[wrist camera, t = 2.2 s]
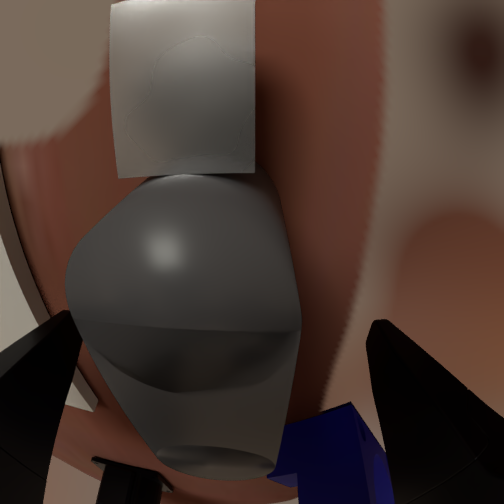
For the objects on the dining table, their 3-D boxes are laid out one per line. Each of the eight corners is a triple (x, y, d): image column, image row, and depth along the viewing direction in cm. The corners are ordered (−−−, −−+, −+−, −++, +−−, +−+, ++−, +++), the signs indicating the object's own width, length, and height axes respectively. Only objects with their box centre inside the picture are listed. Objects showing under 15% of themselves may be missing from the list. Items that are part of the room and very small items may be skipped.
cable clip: (266, 426, 13) (267, 533, 8) (350, 401, 12) (372, 516, 7) (335, 472, 18) (342, 533, 13) (388, 455, 17) (400, 518, 12)
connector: (285, 23, 5) (319, -56, 2) (269, 393, 11) (271, 481, 8) (133, 35, 5) (22, 2, 2) (186, 390, 11) (171, 474, 8)
